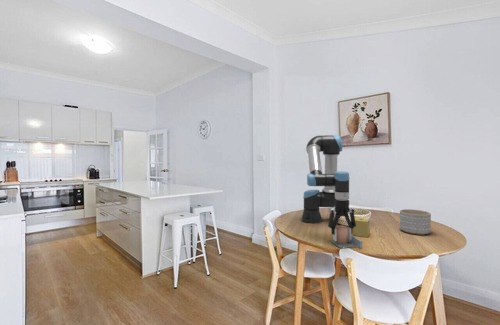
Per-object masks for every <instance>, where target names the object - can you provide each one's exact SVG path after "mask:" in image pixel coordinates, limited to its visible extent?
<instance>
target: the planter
mask: <svg viewBox="0 0 500 325" xmlns="http://www.w3.org/2000/svg"><path fill="white" fill-rule="evenodd" d="M431 218H432V214H431V213H430V212H428V211H425V210H420V209H405V208H404V209H401V210H399V229H400V230H401V231H403V232H404V233H407V234H411V235H415V234H416V236H424V235H425V234H426V235H428V234H430V233H431V227H432V219H431ZM426 235H425V236H426Z"/></svg>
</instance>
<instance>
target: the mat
mask: <svg viewBox="0 0 500 325" xmlns="http://www.w3.org/2000/svg"><path fill="white" fill-rule="evenodd" d="M329 242H330V243H331V244H333V245H335V247H337V248H338V249H340V248H341V249H344V248H343V247H347V248H346V249H351V248H356V247H357V246H355V245H354V244H352V243H351V242H349V241H348V244H346V245H340V244H337V243H336V241H334V240H333V239H329Z"/></svg>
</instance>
